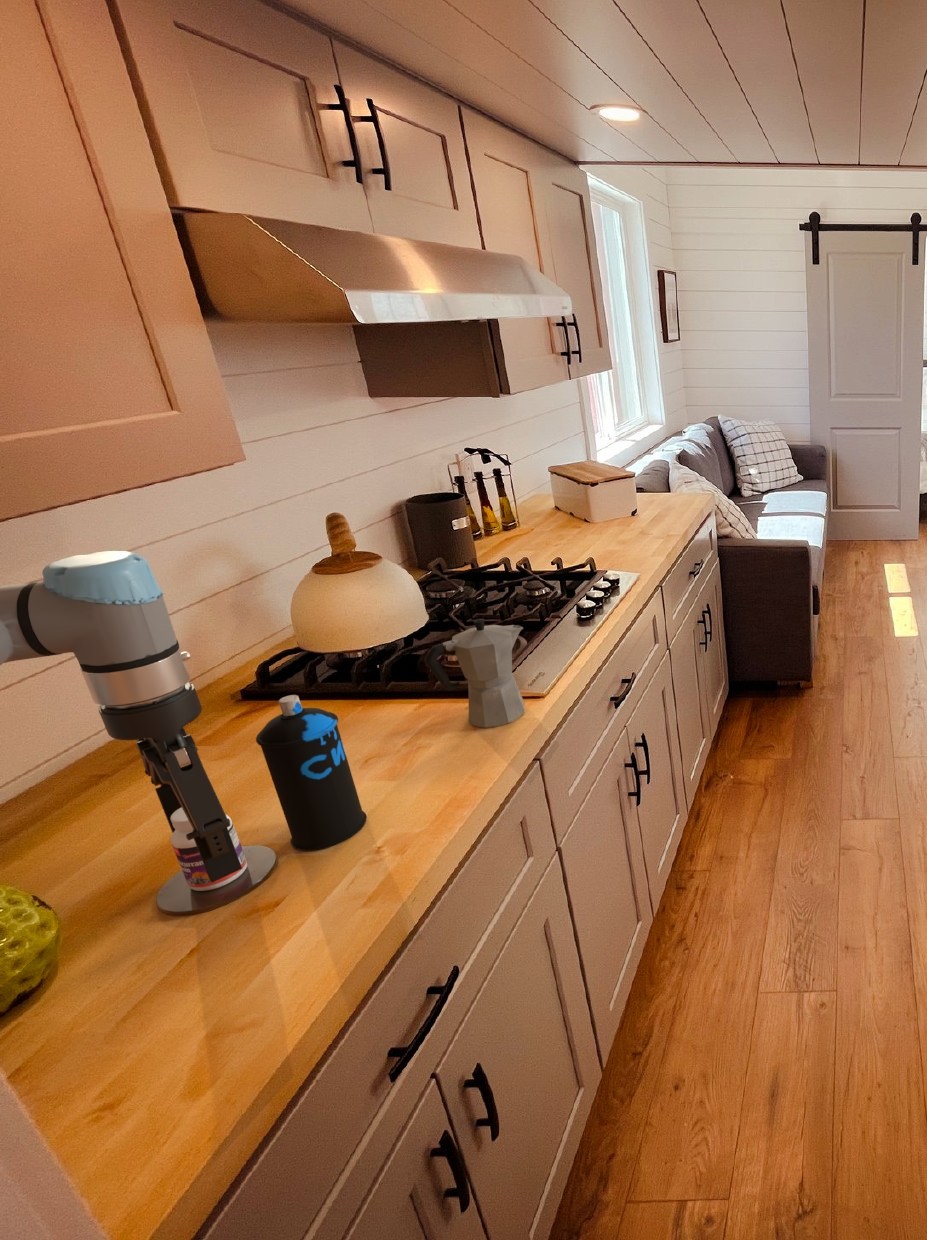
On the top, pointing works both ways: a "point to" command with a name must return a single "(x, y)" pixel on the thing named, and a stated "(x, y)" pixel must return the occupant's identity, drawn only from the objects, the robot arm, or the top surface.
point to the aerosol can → (311, 775)
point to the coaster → (188, 901)
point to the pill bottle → (191, 857)
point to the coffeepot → (484, 672)
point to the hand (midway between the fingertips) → (206, 850)
